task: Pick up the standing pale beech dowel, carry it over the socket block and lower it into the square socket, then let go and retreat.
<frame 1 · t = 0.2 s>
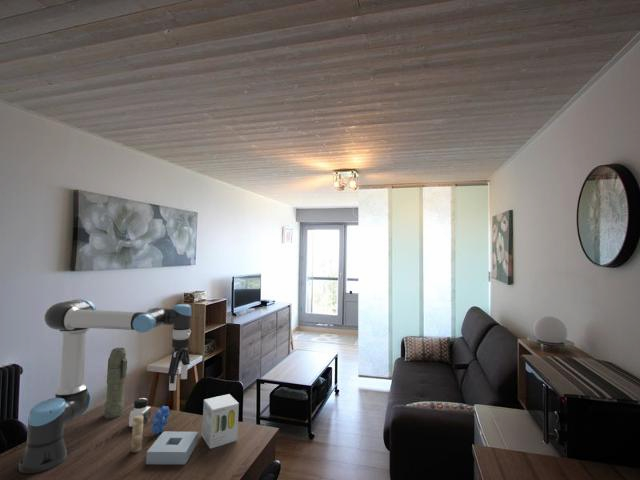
hand: (178, 384, 151), 27 cm above the table, fingers open, 13 cm apart
socket block: (173, 452, 143), on the table
peg: (136, 449, 145), on the table
grapes: (158, 432, 160), on the table
thermos: (113, 415, 175), on the table
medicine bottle: (139, 423, 167), on the table
supplement box: (219, 438, 156), on the table
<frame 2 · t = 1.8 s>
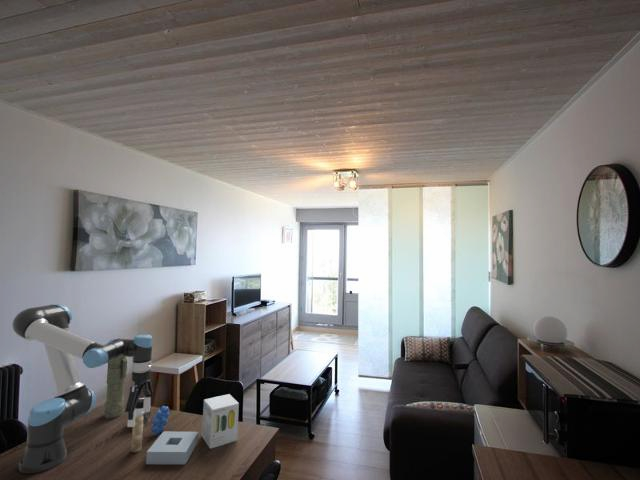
hand: (139, 418, 145), 13 cm above the table, fingers open, 13 cm apart
nothing on the table moved.
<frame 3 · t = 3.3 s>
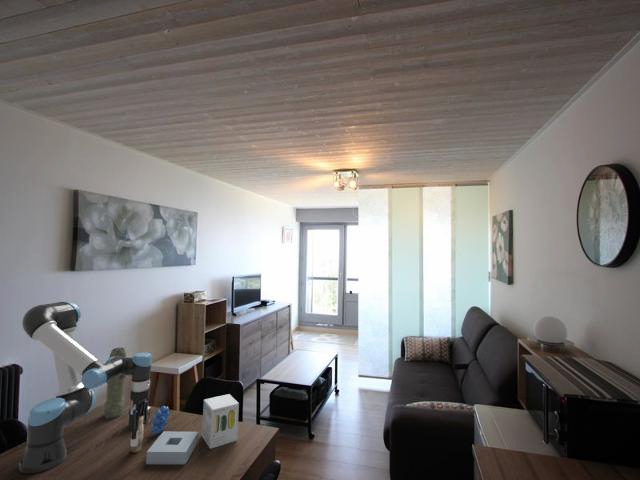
hand: (136, 442, 145), 3 cm above the table, fingers closed on peg, 4 cm apart
peg: (136, 449, 145), on the table, touching gripper
everything else where it was.
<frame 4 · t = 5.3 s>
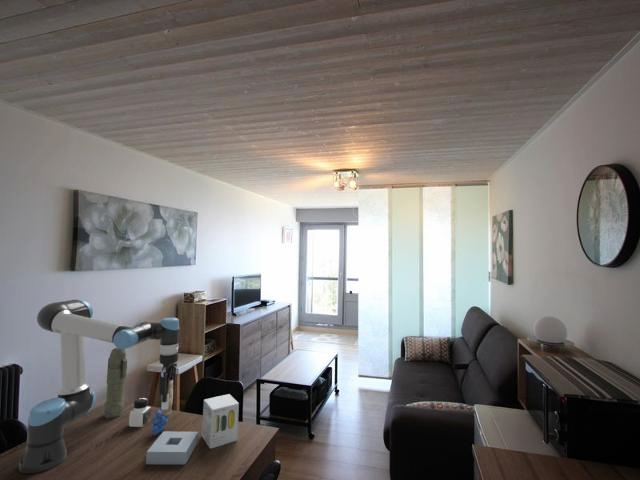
hand: (167, 406, 145), 20 cm above the table, fingers closed on peg, 4 cm apart
peg: (166, 413, 145), point 17 cm above the table, touching gripper
everything else where it was.
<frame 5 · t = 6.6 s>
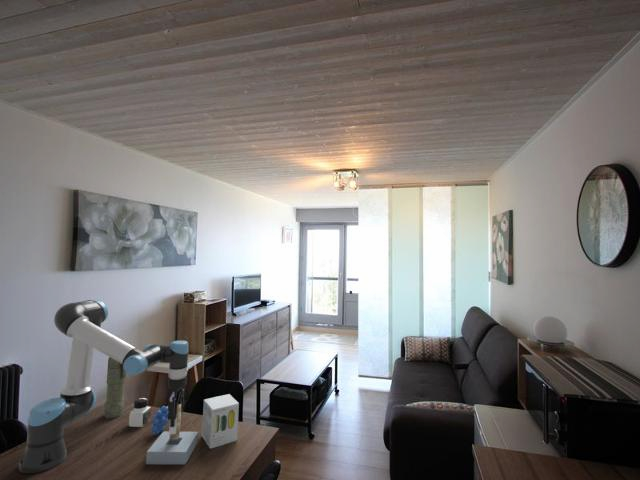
hand: (174, 430, 144), 10 cm above the table, fingers closed on peg, 4 cm apart
peg: (174, 437, 144), point 6 cm above the table, touching gripper
everything else where it was.
when the fingers open (6 cm above the table, at t = 7.4 s): peg drops 2 cm, resting on socket block.
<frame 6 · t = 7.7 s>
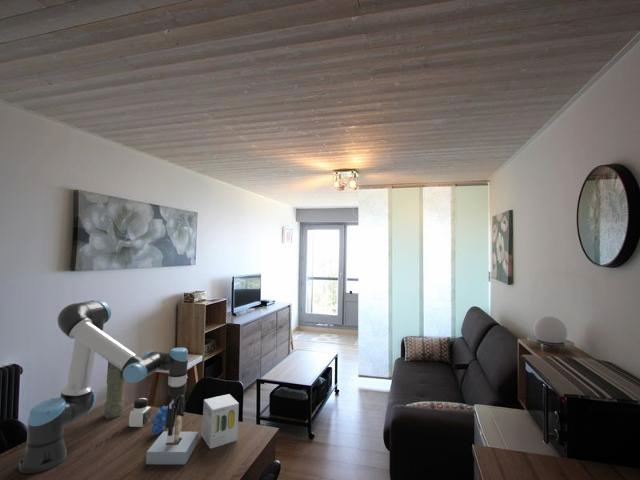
hand: (174, 436, 144), 7 cm above the table, fingers open, 8 cm apart
peg: (173, 450, 143), point 1 cm above the table, touching socket block
everything else where it was.
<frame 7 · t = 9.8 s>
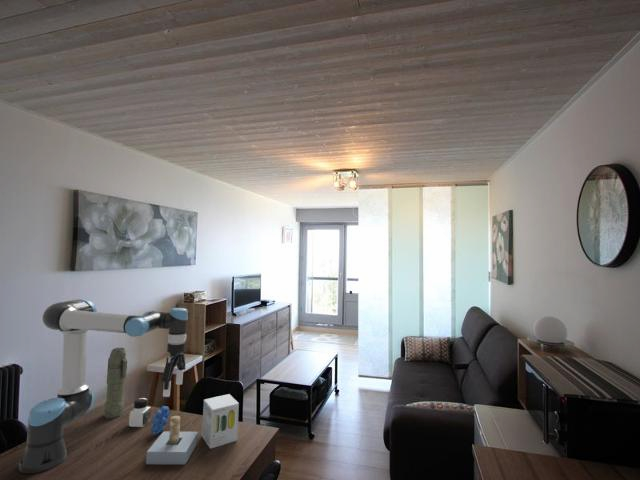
hand: (172, 390, 147), 26 cm above the table, fingers open, 13 cm apart
nothing on the table moved.
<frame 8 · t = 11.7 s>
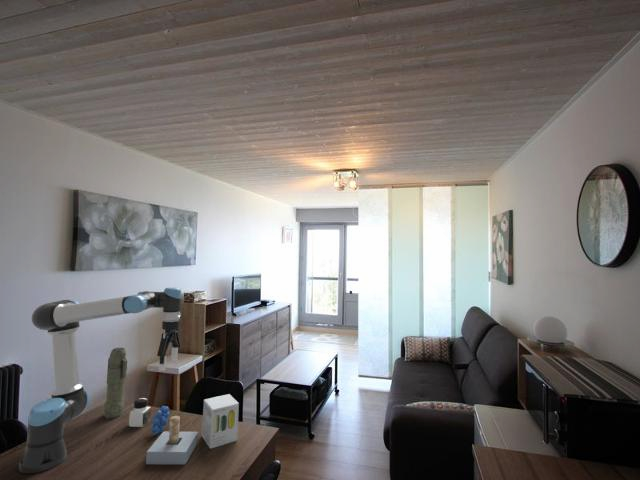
hand: (168, 365, 154), 35 cm above the table, fingers open, 13 cm apart
nothing on the table moved.
at the end: peg 0.0 cm off-centre on the socket block, point 1.0 cm above the socket block's base; peg tilted 1°; the gripper is holding nothing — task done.
